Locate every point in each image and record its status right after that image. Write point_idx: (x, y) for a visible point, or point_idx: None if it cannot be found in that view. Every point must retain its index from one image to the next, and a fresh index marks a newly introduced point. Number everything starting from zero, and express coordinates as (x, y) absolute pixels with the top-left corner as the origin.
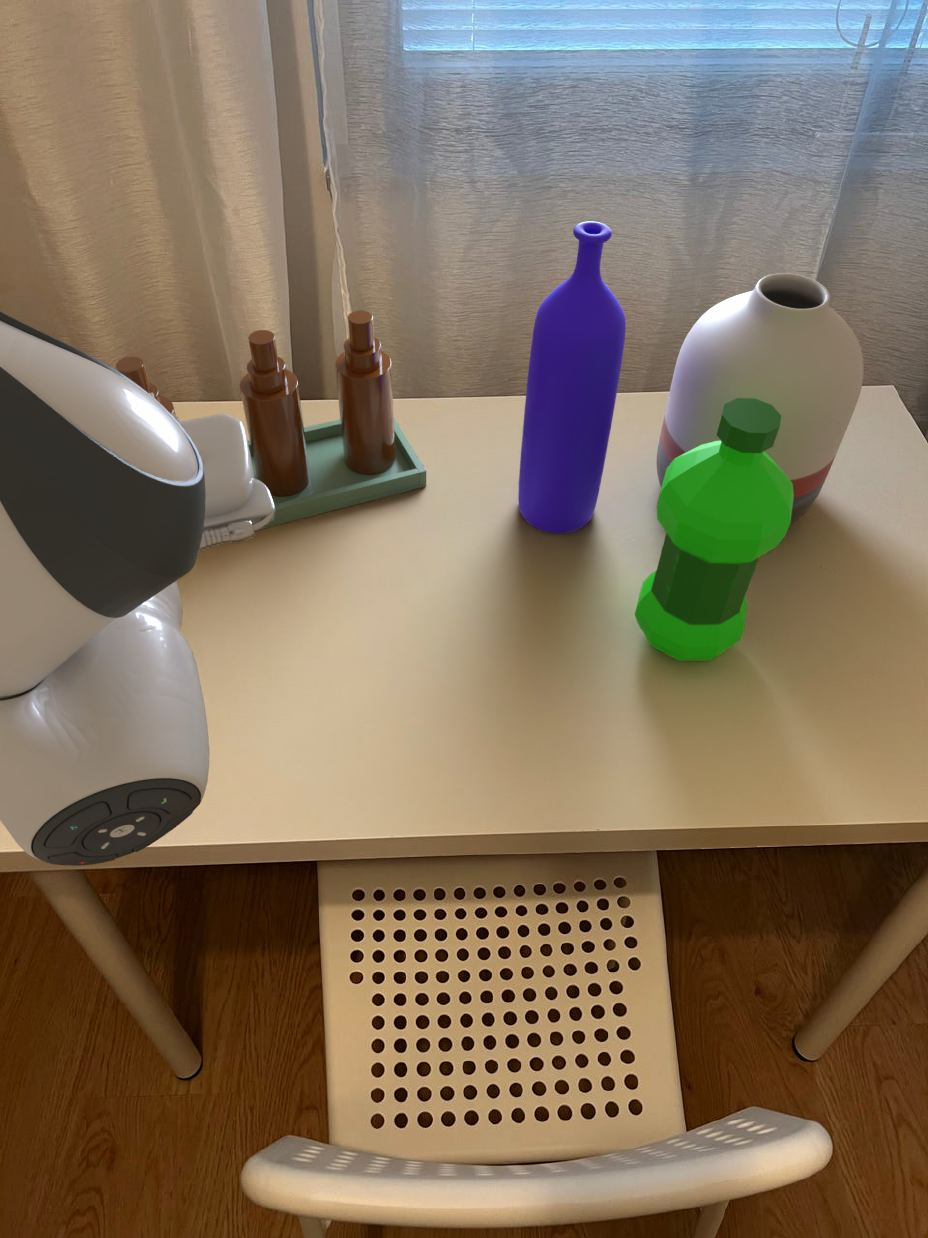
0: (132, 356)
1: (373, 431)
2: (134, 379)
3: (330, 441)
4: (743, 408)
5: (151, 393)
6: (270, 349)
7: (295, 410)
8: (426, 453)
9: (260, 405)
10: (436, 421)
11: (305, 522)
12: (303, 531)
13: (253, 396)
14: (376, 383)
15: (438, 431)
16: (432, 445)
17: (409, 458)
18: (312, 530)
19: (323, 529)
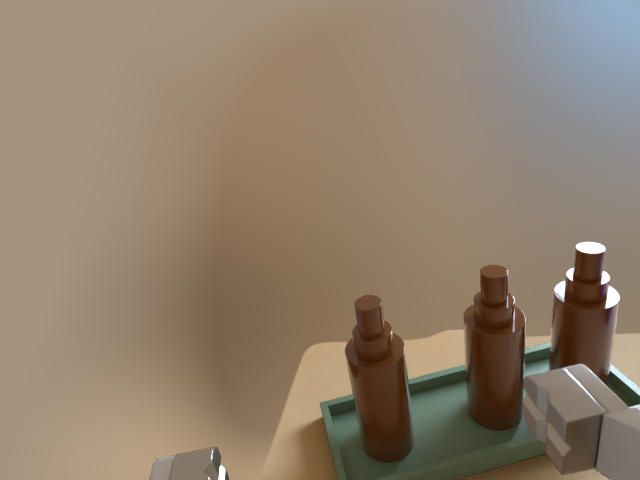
0: (369, 295)
1: (598, 363)
2: (373, 317)
3: (526, 368)
4: None
5: (583, 366)
6: (505, 283)
7: (523, 344)
8: (633, 381)
9: (492, 340)
10: (624, 347)
11: (534, 464)
12: (536, 477)
13: (483, 331)
14: (610, 314)
15: (632, 357)
16: (635, 372)
17: (628, 389)
18: (546, 476)
19: (559, 475)
